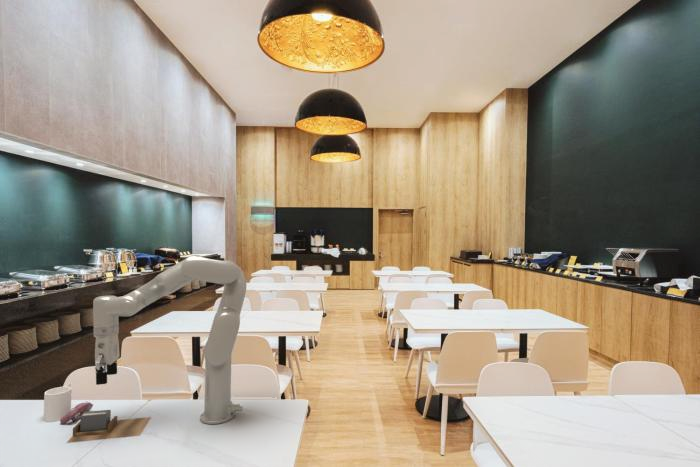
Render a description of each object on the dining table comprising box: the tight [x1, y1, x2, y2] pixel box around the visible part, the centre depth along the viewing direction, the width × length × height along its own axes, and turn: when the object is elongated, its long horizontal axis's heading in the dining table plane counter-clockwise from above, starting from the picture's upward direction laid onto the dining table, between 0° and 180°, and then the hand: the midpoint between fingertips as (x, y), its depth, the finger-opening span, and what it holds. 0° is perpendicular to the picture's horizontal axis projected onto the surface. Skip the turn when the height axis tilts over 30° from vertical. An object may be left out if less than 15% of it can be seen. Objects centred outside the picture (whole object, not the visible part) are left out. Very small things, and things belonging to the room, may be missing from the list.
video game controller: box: [59, 401, 94, 425], centre depth 143 cm, size 10×5×7 cm, turn 170°
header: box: [65, 415, 152, 444], centre depth 134 cm, size 22×14×4 cm, turn 103°
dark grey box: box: [79, 409, 112, 432], centre depth 133 cm, size 8×4×6 cm, turn 103°
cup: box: [43, 383, 73, 423], centre depth 147 cm, size 8×12×10 cm
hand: (107, 379), depth 135 cm, fingers open, 9 cm apart
